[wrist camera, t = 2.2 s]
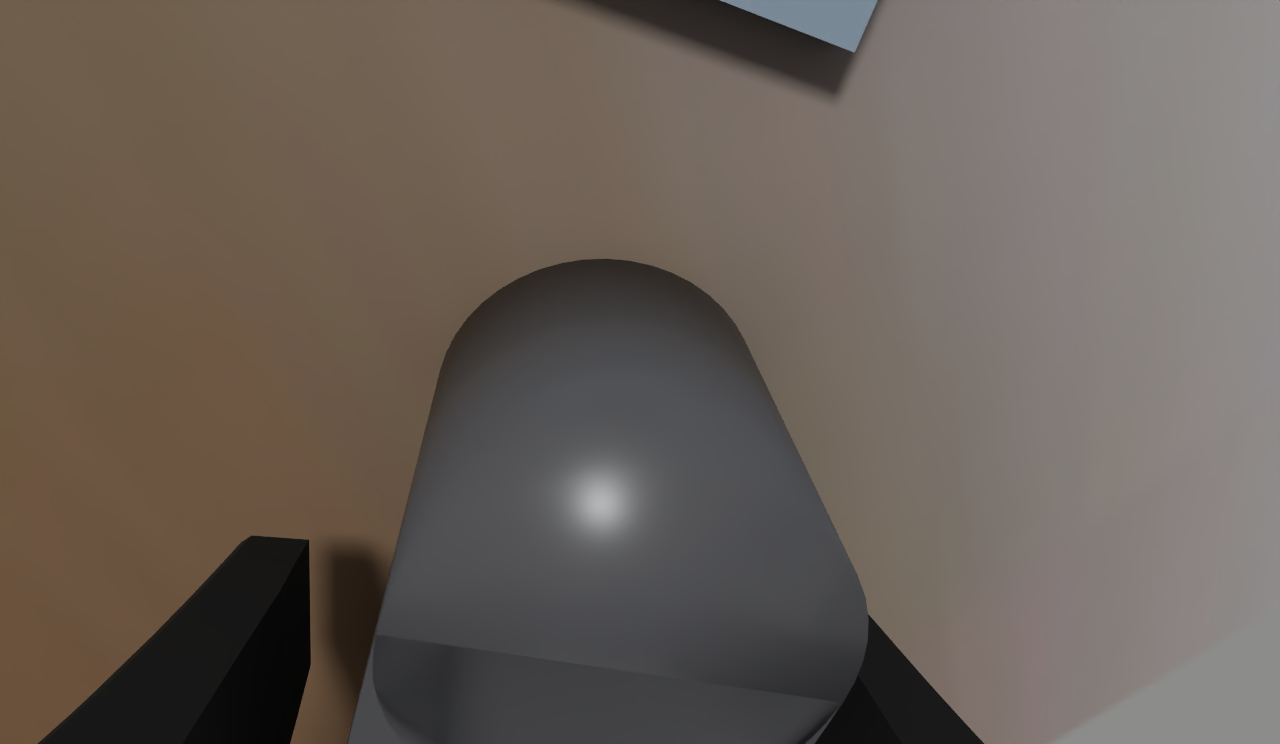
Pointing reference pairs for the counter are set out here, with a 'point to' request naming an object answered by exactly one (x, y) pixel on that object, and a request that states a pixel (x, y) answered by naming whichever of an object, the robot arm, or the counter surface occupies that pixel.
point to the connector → (609, 535)
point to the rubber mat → (817, 17)
